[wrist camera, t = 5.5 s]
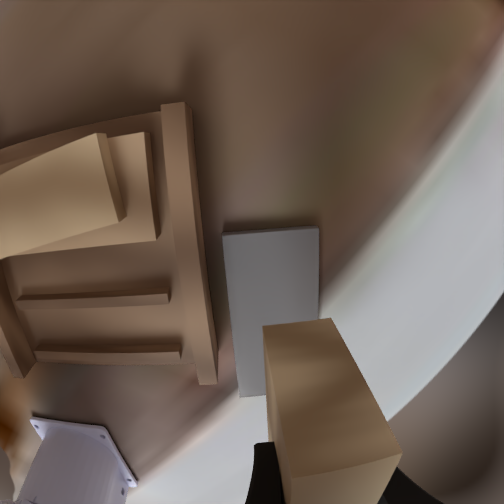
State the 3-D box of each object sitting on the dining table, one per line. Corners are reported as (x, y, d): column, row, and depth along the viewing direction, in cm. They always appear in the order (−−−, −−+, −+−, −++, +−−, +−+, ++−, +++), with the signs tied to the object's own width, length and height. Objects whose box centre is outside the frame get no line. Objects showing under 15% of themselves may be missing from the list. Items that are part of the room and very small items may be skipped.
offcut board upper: (126, 216, 14) (118, 222, 13) (6, 253, 14) (-5, 260, 13) (105, 133, 13) (96, 132, 12) (-13, 185, 13) (-26, 189, 12)
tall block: (330, 317, 11) (402, 452, 5) (316, 461, 14) (342, 558, 8) (262, 325, 11) (291, 478, 5) (269, 468, 14) (285, 568, 8)
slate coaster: (312, 383, 21) (314, 388, 20) (239, 391, 21) (239, 397, 20) (315, 225, 17) (319, 228, 17) (222, 232, 17) (221, 235, 16)
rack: (218, 352, 19) (217, 384, 17) (31, 353, 19) (13, 377, 16) (192, 109, 15) (184, 101, 12) (-18, 157, 14) (-48, 163, 11)
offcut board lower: (161, 233, 16) (156, 240, 15) (9, 250, 15) (-2, 257, 14) (150, 132, 14) (143, 132, 13) (-6, 168, 14) (-18, 171, 13)
